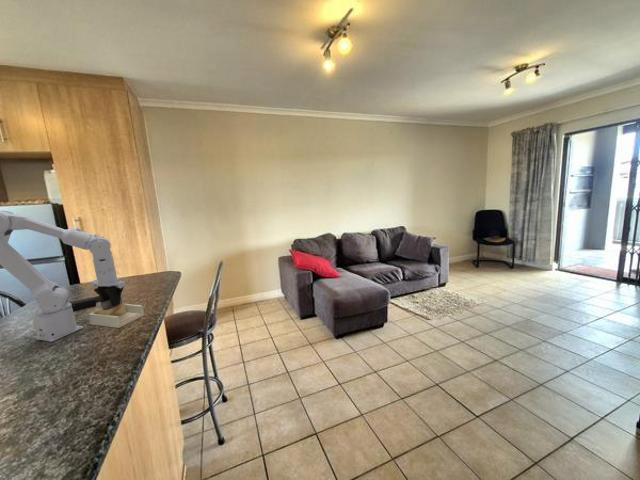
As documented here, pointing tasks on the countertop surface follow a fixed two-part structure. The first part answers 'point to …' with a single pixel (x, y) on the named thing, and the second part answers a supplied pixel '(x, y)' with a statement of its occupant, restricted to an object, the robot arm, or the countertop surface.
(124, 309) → the tan block with handle
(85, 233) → the robot arm
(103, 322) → the bay
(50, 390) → the countertop surface
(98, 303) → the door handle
